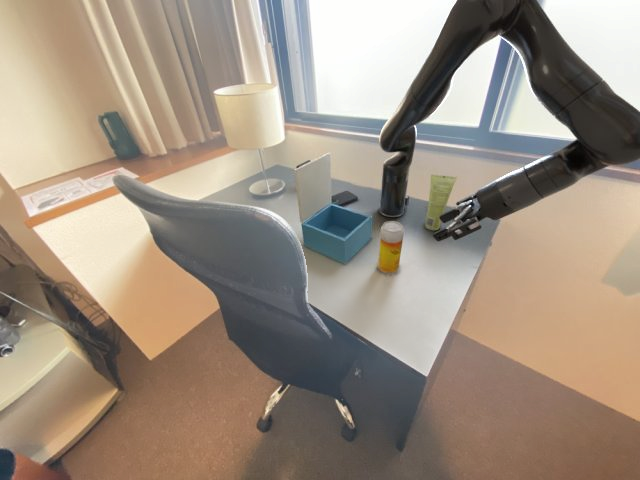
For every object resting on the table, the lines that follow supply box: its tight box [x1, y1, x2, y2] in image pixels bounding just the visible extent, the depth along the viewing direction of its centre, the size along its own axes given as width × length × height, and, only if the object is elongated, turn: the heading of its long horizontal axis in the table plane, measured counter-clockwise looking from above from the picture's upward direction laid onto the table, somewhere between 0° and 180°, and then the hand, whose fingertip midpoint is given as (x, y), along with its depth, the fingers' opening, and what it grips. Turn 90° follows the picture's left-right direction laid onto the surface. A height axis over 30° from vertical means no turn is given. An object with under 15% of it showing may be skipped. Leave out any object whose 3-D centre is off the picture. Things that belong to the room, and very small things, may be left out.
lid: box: [294, 152, 332, 224], centre depth 88 cm, size 18×16×5 cm
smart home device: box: [317, 190, 359, 213], centre depth 114 cm, size 8×2×20 cm
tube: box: [424, 173, 458, 231], centre depth 91 cm, size 6×5×20 cm
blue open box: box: [301, 204, 373, 265], centre depth 91 cm, size 17×16×9 cm
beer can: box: [377, 220, 405, 275], centre depth 77 cm, size 6×6×15 cm
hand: (438, 228), depth 67 cm, fingers open, 8 cm apart
